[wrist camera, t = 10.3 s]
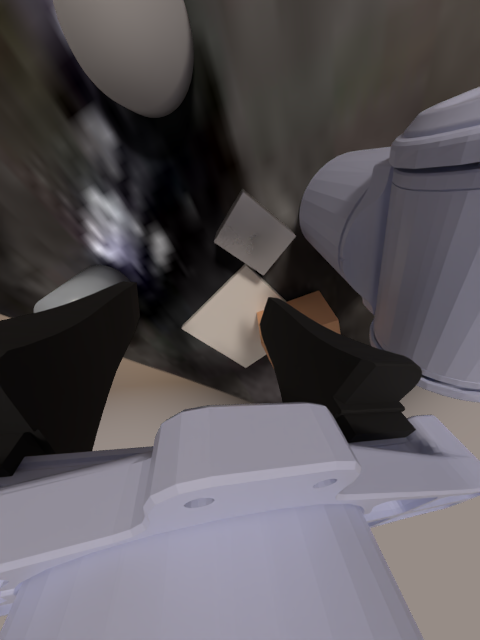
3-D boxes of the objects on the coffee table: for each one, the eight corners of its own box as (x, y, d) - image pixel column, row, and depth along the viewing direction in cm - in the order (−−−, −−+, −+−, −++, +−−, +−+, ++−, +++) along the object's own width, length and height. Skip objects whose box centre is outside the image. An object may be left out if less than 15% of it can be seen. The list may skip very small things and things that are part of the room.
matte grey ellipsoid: (215, 41, 11) (210, 15, 9) (161, 143, 14) (149, 139, 12) (108, -116, 9) (71, -198, 7) (68, 47, 11) (32, 22, 9)
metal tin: (288, 226, 17) (296, 235, 15) (260, 262, 19) (263, 275, 17) (242, 188, 16) (243, 191, 13) (216, 232, 18) (213, 242, 15)
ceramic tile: (308, 322, 24) (310, 325, 24) (245, 364, 29) (245, 367, 28) (245, 262, 19) (245, 265, 19) (182, 325, 24) (181, 328, 24)
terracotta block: (256, 312, 22) (318, 290, 21) (270, 341, 25) (325, 323, 23) (261, 343, 18) (338, 319, 17) (276, 373, 21) (343, 355, 20)
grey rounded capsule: (143, 287, 21) (117, 323, 16) (122, 315, 23) (93, 354, 18) (92, 253, 18) (43, 284, 14) (74, 289, 21) (27, 325, 16)
